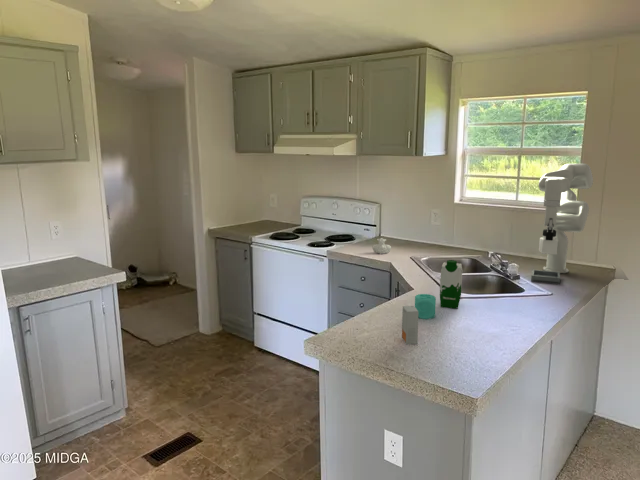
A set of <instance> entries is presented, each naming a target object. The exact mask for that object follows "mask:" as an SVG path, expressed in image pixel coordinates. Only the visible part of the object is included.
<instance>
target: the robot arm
mask: <svg viewBox="0 0 640 480" xmlns="http://www.w3.org/2000/svg"><path fill="white" fill-rule="evenodd" d="M592 172H593V171H592V168H591V166H590V165H589V164H587V163H575V162H574V163H573V162H571V163H565V164H564V165H562V166H561V167H560V168H559V169H557V170H554V171H553V170H552V171H550V172H546V173H544V174H543V175H542V176H541V178H540V179H539V181H538V188H539V190H540V191H541V192H544V197H543V207H545V209H544V210H545V211H544V220H543V221H544V223H543V226H544V227H546V229H547V232H546V240H553V229H554V230H556V238H555V239H557V240H558V249H557V254H546V255H547V256H546V263H545V264H546V265H544V266H543V267H542V269H543V270H542V271H552V272H560V274H566V273H569V269H568V268H567V267H566V265H567V255H568V247H569V246H568V245H569V239H568V236H567V235H566V233H565V232H568V233H569V232H570V233H582V231H584V229H585V227H586V223H587V220H588V217H589V212H590V206H589V203H588V202H587V201H585V200H577V198H578V197H577V194H576V192H574V191H573V190H572V189H575V190H578V189H579V190H589V189H590V188H592V186H593V184H594V176H593V173H592Z"/></svg>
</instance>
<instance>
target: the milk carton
mask: <svg viewBox="0 0 640 480" xmlns="http://www.w3.org/2000/svg"><path fill="white" fill-rule="evenodd" d="M439 279H440V280H439V303H440V308H446V309H456V310H458V308H459V304H460V300H461V298H462V297H461V296H462V288H463V287H462V285H463V283H462V282H463V266H462V263H458V262H457V260H454V259H449V260H446V261H445V262H443V263H442V265H441V269H440V278H439Z"/></svg>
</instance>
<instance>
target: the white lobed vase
mask: <svg viewBox="0 0 640 480" xmlns="http://www.w3.org/2000/svg"><path fill="white" fill-rule="evenodd" d="M376 240H377V242H378V243H377V244H373V245H372V250H373V252H374V253H377V254H379V255H383V254H389V253H390V252H391V249H392V246H391V245H390V244H386V242H387V238H384V237H380V238H377V239H376Z"/></svg>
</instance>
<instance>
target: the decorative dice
mask: <svg viewBox="0 0 640 480" xmlns="http://www.w3.org/2000/svg"><path fill="white" fill-rule="evenodd" d="M436 303H437V301H436V296H434V295H432V294H429V293H420V294H416V295H415V296H414V307H415V308H416V309H417V310H418V319H423V320H431V319H434V318H436V308H437V306H436Z"/></svg>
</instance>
